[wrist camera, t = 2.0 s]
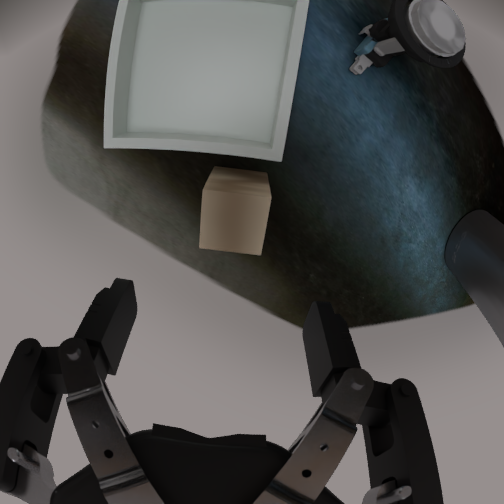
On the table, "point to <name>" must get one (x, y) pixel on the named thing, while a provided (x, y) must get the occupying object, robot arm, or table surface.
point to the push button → (413, 36)
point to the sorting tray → (203, 75)
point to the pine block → (235, 210)
